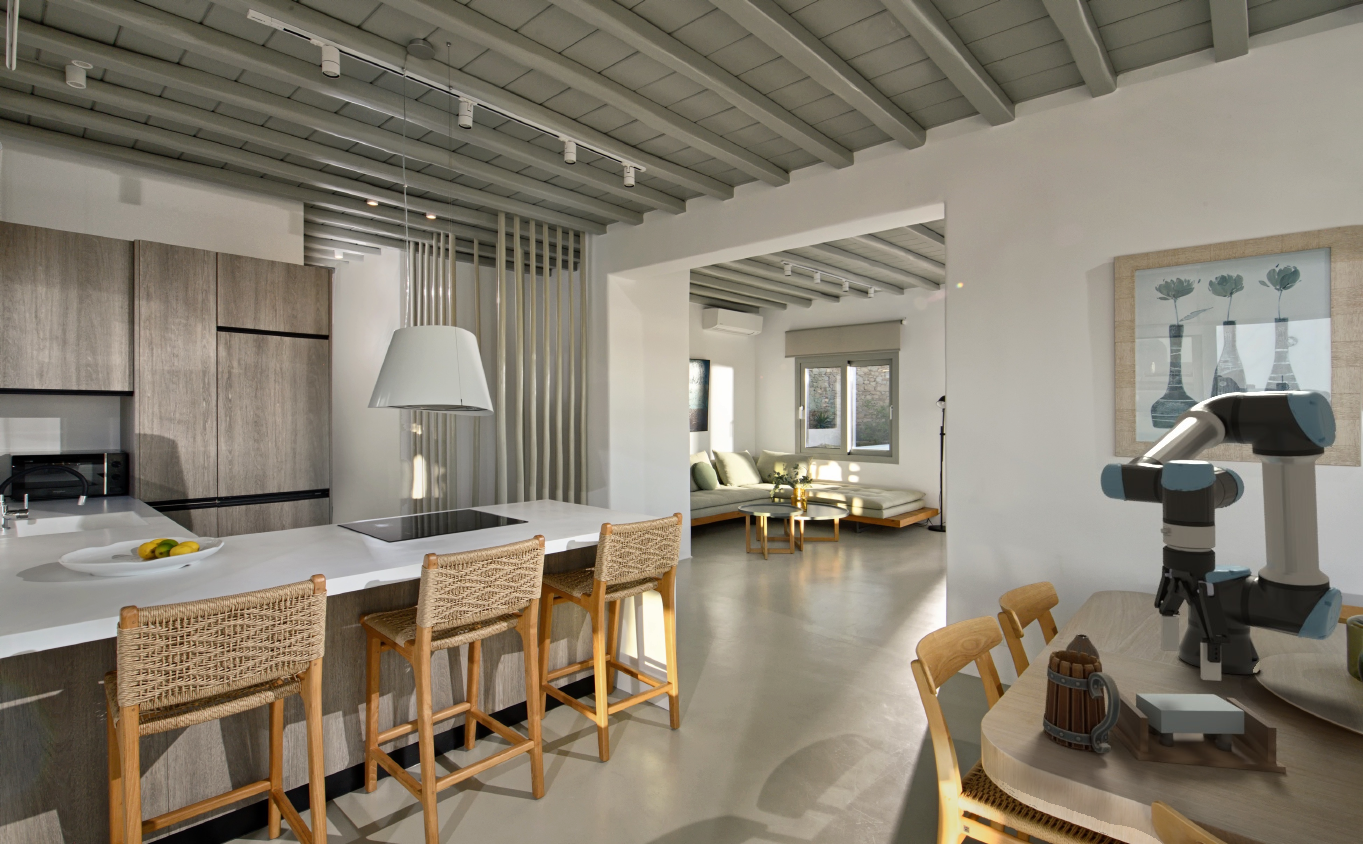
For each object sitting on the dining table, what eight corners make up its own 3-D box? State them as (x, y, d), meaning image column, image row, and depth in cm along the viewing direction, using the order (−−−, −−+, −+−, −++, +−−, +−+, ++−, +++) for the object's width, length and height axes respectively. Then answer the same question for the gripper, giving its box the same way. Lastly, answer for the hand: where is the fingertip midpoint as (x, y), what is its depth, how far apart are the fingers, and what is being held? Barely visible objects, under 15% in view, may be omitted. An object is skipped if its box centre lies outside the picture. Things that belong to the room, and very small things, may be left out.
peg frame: (1235, 733, 125) (1235, 696, 125) (1285, 773, 111) (1286, 731, 111) (1104, 722, 129) (1104, 687, 129) (1137, 759, 116) (1137, 719, 115)
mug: (1030, 726, 128) (1030, 648, 128) (1082, 723, 129) (1082, 646, 129) (1086, 769, 113) (1086, 681, 112) (1145, 766, 114) (1145, 678, 113)
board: (1213, 715, 123) (1213, 694, 123) (1244, 733, 116) (1244, 711, 116) (1136, 714, 124) (1136, 693, 124) (1161, 732, 117) (1161, 710, 117)
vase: (1105, 680, 150) (1105, 641, 149) (1071, 678, 151) (1071, 639, 151) (1092, 668, 156) (1092, 631, 156) (1060, 666, 158) (1060, 630, 158)
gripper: (1133, 533, 133) (1134, 639, 133) (1203, 563, 108) (1204, 692, 109) (1176, 533, 131) (1177, 640, 131) (1256, 564, 107) (1257, 695, 107)
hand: (1189, 664), depth 120 cm, fingers open, 13 cm apart
